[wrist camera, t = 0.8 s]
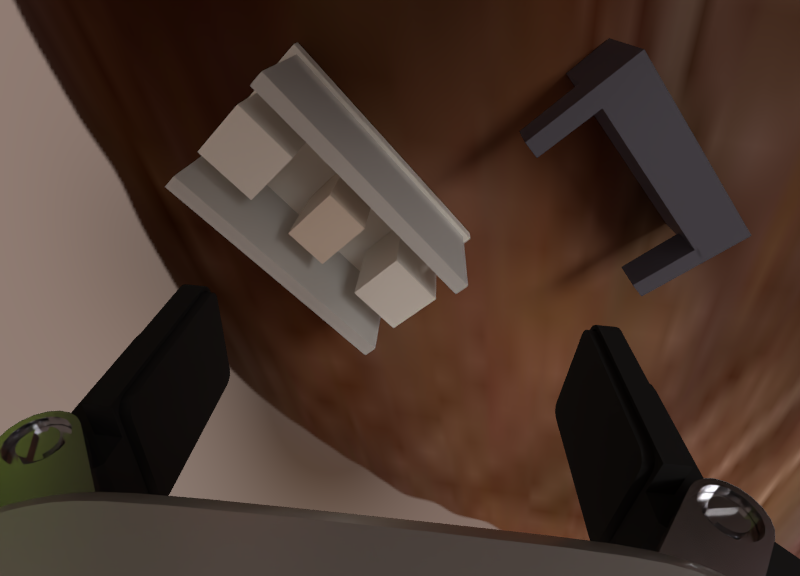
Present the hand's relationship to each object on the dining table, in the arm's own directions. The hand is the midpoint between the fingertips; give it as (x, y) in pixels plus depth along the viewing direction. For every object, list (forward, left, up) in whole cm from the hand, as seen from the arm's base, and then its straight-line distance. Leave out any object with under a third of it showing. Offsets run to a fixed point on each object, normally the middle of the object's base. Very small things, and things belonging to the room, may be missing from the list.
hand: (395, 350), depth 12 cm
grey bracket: (-8, +11, -24) cm, 28 cm away
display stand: (+8, 0, -24) cm, 25 cm away
